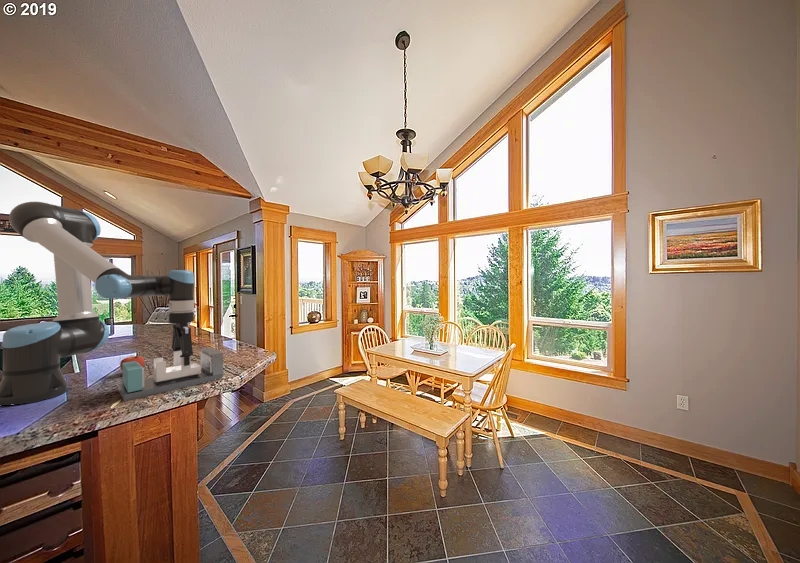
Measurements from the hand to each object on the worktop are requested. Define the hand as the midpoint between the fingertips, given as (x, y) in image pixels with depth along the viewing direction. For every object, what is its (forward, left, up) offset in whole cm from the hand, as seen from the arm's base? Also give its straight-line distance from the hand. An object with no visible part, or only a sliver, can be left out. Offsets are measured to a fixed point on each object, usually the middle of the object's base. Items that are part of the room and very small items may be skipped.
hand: (181, 371), depth 109 cm
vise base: (0, -2, -4) cm, 5 cm away
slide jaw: (0, -14, -2) cm, 14 cm away
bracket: (0, -1, -2) cm, 3 cm away
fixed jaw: (0, +9, -2) cm, 10 cm away
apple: (-27, -10, -4) cm, 29 cm away
